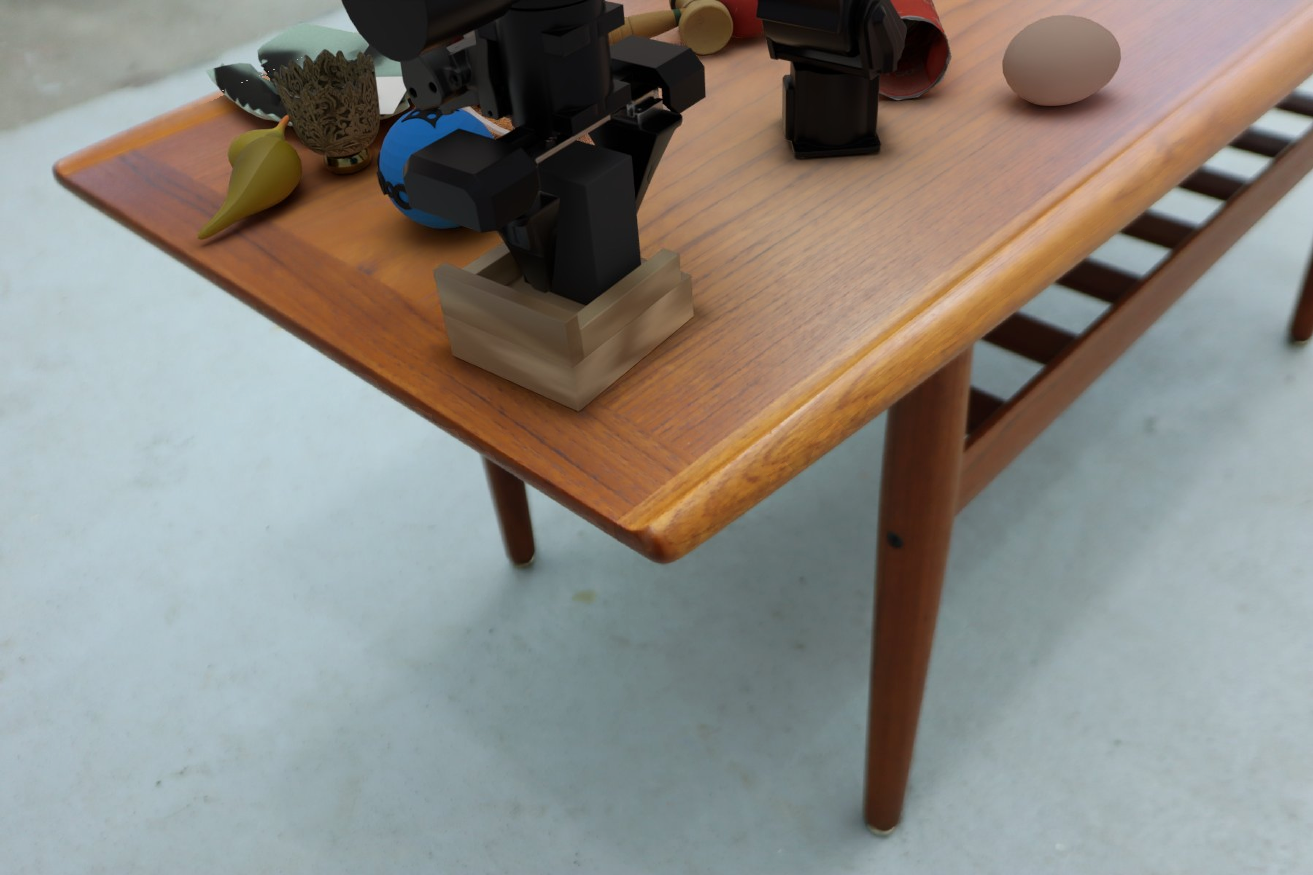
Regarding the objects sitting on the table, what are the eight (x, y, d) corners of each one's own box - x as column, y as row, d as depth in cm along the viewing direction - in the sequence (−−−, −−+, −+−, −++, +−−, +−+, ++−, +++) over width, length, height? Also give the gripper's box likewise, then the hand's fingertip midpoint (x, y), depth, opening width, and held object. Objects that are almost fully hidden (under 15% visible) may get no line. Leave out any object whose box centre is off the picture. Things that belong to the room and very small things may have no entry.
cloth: (422, 114, 88) (428, 141, 89) (440, 9, 104) (445, 34, 106) (168, 138, 88) (179, 165, 89) (226, 29, 104) (234, 53, 105)
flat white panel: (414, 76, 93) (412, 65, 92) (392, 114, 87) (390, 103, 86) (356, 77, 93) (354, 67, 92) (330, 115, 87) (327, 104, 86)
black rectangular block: (567, 252, 68) (550, 131, 63) (643, 279, 65) (632, 155, 60) (523, 282, 66) (502, 159, 60) (600, 312, 63) (585, 185, 57)
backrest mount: (570, 271, 72) (559, 188, 68) (694, 316, 67) (689, 230, 63) (452, 355, 66) (432, 270, 62) (578, 412, 61) (565, 322, 57)
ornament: (535, 204, 79) (513, 69, 73) (467, 262, 74) (437, 122, 67) (439, 185, 83) (410, 54, 76) (367, 239, 77) (330, 104, 70)
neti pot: (319, 81, 83) (257, 96, 86) (219, 208, 74) (154, 219, 77) (351, 129, 86) (290, 141, 89) (258, 256, 77) (194, 265, 80)
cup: (415, 152, 87) (393, 53, 82) (360, 195, 82) (332, 92, 77) (340, 140, 90) (314, 44, 85) (282, 180, 85) (251, 81, 80)
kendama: (598, 91, 97) (792, 35, 97) (579, 18, 94) (780, -40, 94) (589, 74, 104) (771, 21, 104) (571, 5, 100) (758, -49, 101)
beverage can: (928, 43, 97) (936, -35, 93) (947, 99, 88) (956, 16, 84) (847, 46, 98) (850, -31, 93) (856, 103, 89) (861, 20, 84)
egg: (1019, 116, 82) (1132, 109, 83) (1030, 22, 79) (1148, 16, 80) (982, 101, 88) (1089, 95, 89) (992, 13, 85) (1102, 8, 86)
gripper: (549, -80, 64) (579, 166, 74) (294, 26, 53) (371, 297, 63) (705, -56, 58) (715, 207, 68) (457, 68, 47) (512, 358, 57)
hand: (582, 261), depth 64 cm, fingers open, 7 cm apart
